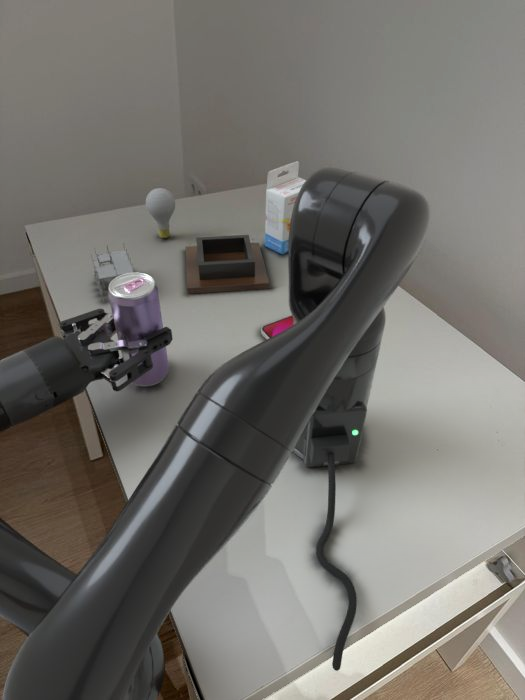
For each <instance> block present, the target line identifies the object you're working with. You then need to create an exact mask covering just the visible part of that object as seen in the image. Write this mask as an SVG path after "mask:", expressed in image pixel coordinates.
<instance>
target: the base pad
mask: <svg viewBox="0 0 525 700" xmlns="http://www.w3.org/2000/svg"><path fill="white" fill-rule="evenodd" d="M184 248H185V269H186V271H185V274H186V290H187V295H193V294H207V293H222V292H223V293H224V292H239V291H254V290H255V291H256V290H269V289H270V279H269V275H268V273H267V269H266V264H265V262H264V257H263V253H262V249H261V246H260V242H251V238H250V235H249V234H237V235H217V236H215V235H214V236H200V237H199V236H198V237H196V245H191V246H190V245H189V246H185V247H184Z"/></svg>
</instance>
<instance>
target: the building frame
mask: <svg viewBox="0 0 525 700" xmlns="http://www.w3.org/2000/svg"><path fill="white" fill-rule="evenodd" d="M122 244H123V250H117V251H113V252H111V251H109V246H108V244H106V245H105V247H106V250H107V253H102V254H97V252H96V248H95V246H94V247H93V248H94V249H93V250H94V253H95V258H96V259H95V260H94V259H93V256H92V255H93V254H90V257H91V261H92V265H93V269H94V270H93V273H94V278H95V283H96V285H97V289H98V292H99V296H101V298H102V301H103V302H105V300H104V291H103V288H102V285H103V287H104V289H106V286H105V285H106V284H105V280H109V279H114V278H116V277H118V276H120V275H123V274H126V273H133V272H135V270H134V269H135V268H134V264H133V263H132V261H131V259H130V256H129V254H128V251H127V249H126V248H125V243H124V241H123V242H122ZM105 263H109V264H105ZM101 282H102V285H101Z"/></svg>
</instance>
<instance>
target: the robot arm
mask: <svg viewBox="0 0 525 700" xmlns="http://www.w3.org/2000/svg"><path fill="white" fill-rule="evenodd" d="M305 180H306V181H305V182H304V184H303V186H302V187H301V189H300V191H299V193H298V196H297V198H296V201H295V204H294V207H293V211H292V216H291V221H290V229H289V246H288V252H287V253H288V255H287V257H288V307H289V311H290V314H291V315H292V316H293V326H291V327H289V328H287V329H286V330H284V331H282V332H280V333H279V334H277V335H275V336H273V337H271V338H269V339H265V340H263V341H261V342H259V343H257V344H255V345H253V346H251V347H250V348H247V349H245V350H244V351H242V352H240V353H239V354H237V355H235V356H234V357H231V358H230V359H228V360H227V361H225V362H223V363H222V364H221V365H219V366H218V367H217V368H216V369H215V370H213V371H212V372H211V373H210V374H208V376H207V378H205V380H204V381H203V382H202V384H201V385H200V387H199V389H198V390H197V392H195V394H194V396H193V397H192V399H191V401H190V402H189V403H188V405H187V406H186V408H185V410H184V412H183V413H182V414H181V416H180V417H179V419H178V420H177V422H176V424H175V425H174V427H173V428H172V430H171V432H170V433H169V435H168V437H167V439H166V441H165V443H163V445H162V447H161V448H160V450H159V452H158V454H157V456H156V457H155V458H154V460H153V461H152V463H151V465H150V466H149V467H148V469H147V470H146V472H145V474H144V475H143V477H142V478H141V480H140V481H139V483H138V484H137V486H136V488H135V489H134V490H133V492H132V494H131V495H130V496H129V499H128V500H127V502H126V503H125V505H123V508H122V509H121V511H120V512H119V515H118V516H117V517H116V520H115V521H114V523H113V524H112V526H111V527H110V529H109V530H108V532H107V534H106V535H105V537H104V538H103V539H102V541H101V542H100V544H99V545H98V547H97V548H96V549H95V551H94V552H93V553H92V554H91V556H90V557H89V558H88V560H87V561H86V562H85V563H84V565H83V567H82V568H81V569H80V570H79V572H78V573H75V572H73V571H72V570H70V569H69V568H67V567H66V566H65V565H63V564H61V562H59V561H57V560H56V559H54V558H53V557H51V556H50V555H49V554H47V553H46V552H44V550H42V549H40V548H39V547H38V546H36V545H35V544H34V543H32V541H30V540H29V539H27V538H26V536H23V535H22V534H21V533H19V532H18V531H17V530H16V529H14V527H12V526H11V525H10V524H9V523H8V522H6V521H5V520H4V519H3V518H2V517H0V617H1V618H2V619H4V620H5V621H6V622H8V623H10V624H11V625H13V626H14V627H15V628H16V629H18V630H19V631H21V632H22V633H23V634H24V635H26V639H25V641H24V642H23V644H22V645H21V646H20V648H19V650H18V652H17V654H16V656H15V658H14V660H13V661H12V664H11V666H10V668H9V670H8V674H7V676H6V679H5V682H4V683H5V684H4V687H3V692H2V697H1V698H2V700H157V699H158V696H159V695H160V692H161V689H162V687H163V684H164V680H165V674H166V673H165V671H166V658H165V651H164V647H163V643H162V640H161V637H160V636H159V634H158V633H159V631H160V629H161V627H162V626H163V624H164V622H165V620H166V619H167V617H168V615H169V614H170V612H171V610H172V609H173V608H174V605H175V604H176V603H177V602H178V600H179V599H180V598H181V596H182V594H183V593H184V592H185V590H186V589H187V588H188V587H189V586H190V584H192V582H193V581H194V580H195V579H196V577H197V576H199V574H200V573H201V572H202V571H203V570H204V569H205V568H206V566H207V565H209V564H210V562H211V561H212V560H213V559H214V558H215V557H216V556H217V554H219V553H220V552H221V551H222V550H223V549H224V547H226V545H227V544H228V543H229V542H230V541H231V540H232V539H233V537H235V535H236V534H237V533H238V532H239V531H240V530H241V528H242V527H243V526H244V525H245V524H246V523H247V521H249V519H250V518H251V517H252V516H253V514H254V513H255V512H256V510H257V509H258V508H259V507H260V505H261V504H262V502H263V501H264V499H265V498H266V496H267V495H268V493H269V492H270V491H271V489H272V487H273V485H274V483H275V482H276V480H277V479H278V477H279V475H280V473H281V472H282V470H283V469H284V467H285V465H286V463H287V462H288V460H289V459H290V457H291V455H292V454H294V455H296V457H298V458H300V459H301V460H302V461H303V462H304V466H305V468H315V467H316V468H317V467H325V466H327V476H328V493H327V497H328V498H327V513H326V522H325V527H324V529H323V532H322V533H321V535H320V537H319V539H318V541H317V543H316V548H315V549H316V550H315V553H316V558H317V561H318V563H319V564H320V565H321V566H322V568H323V569H325V571H327V572H328V573H329V574H331V575H332V576H333V577H335V578H336V579H337V580H339V581H340V582H341V583H342V584H344V586H345V589H346V591H347V596H348V608H347V612H346V614H345V618H344V619H343V623H342V625H341V628H340V630H339V632H338V636H337V638H336V641H335V644H334V645H335V646H334V650H333V657H332V662H331V663H332V664H331V666H332V669H333V671H337V672H338V671H340V669H341V666H342V661H343V660H342V659H343V653H344V650H345V649H344V648H345V645H346V642H347V639H348V636H349V633H350V631H351V628H352V625H353V623H354V620H355V618H356V613H357V607H358V605H357V604H358V600H357V599H358V597H357V592H356V588H355V585H354V583H353V581H352V580H351V578H350V577H349V576H348V575H347V574H345V572H344V571H342V570H340V569H339V568H337V566H335V565H334V564H332V563H331V562H330V561H329V560H328V559H327V557H326V555H325V552H324V549H325V546H326V544H327V541H328V540H329V538H330V536H331V534H332V531H333V527H334V523H335V522H334V520H335V514H336V512H335V511H336V491H337V490H336V486H337V485H336V465H346V464H352V463H353V464H355V463H356V462H357V458H358V454H359V449H360V445H361V442H362V436H363V432H364V426H365V421H366V419H367V418H366V417H367V413H368V412H367V411H368V406H369V405H368V404H369V400H370V396H371V391H372V387H373V381H374V376H375V372H376V368H377V363H378V360H379V359H378V358H379V355H380V349H381V345H382V341H383V336H384V331H385V326H386V320H387V319H386V311H385V305H386V304H387V303H388V301H389V299H390V298H391V297H392V295H393V294H394V293H395V291H397V288H398V287H399V286H400V284H401V282H402V281H403V279H404V278H405V277H406V275H407V273H409V270H410V269H411V267H412V265H413V264H414V263H415V260H416V258H417V257H418V255H419V253H420V251H421V249H422V247H423V244H424V242H425V239H426V236H427V234H428V231H429V227H430V221H431V206H430V203H429V201H428V199H427V198H426V196H425V195H424V194H423V193H421V192H419V191H418V190H416V189H414V188H411V187H409V186H406V185H403V184H401V183H398V182H394V181H390V180H386V179H384V178H380V177H376V176H373V175H371V174H370V175H369V174H366V173H364V172H363V173H362V172H359V171H357V170H353V169H350V168H346V167H342V166H338V165H325V166H322V167H319V168H317V169H316V170H314V171H313V172H312V173H311V174H310V175H309V176H308V177H307V178H306V179H305ZM95 319H96V320H95ZM92 320H95V321H94V322H93V323H91V324H90V323H89V322H90V321H92ZM58 326H59V328H60V332H61V334H62V337H60V336H57V335H56V336H55V335H54V336H52V337H49V338H47V339H45V340H43V341H41V342H38V343H36V344H34V345H31V346H29V347H26V348H25V349H23V350H20V351H18V352H15V353H13V354H11V355H8V356H7V357H4V358H3V359H1V360H0V434H1V433H3V432H6V430H8V429H10V428H11V427H15V426H17V425H19V424H23V423H24V422H27V421H30V420H32V419H34V418H36V417H38V416H40V415H42V414H44V413H46V412H48V411H51V409H54V408H56V407H58V406H59V405H61V404H63V403H65V402H67V401H69V400H71V399H72V398H75V397H77V396H79V395H80V394H83V393H84V392H85V391H86V390H87V387H88V386H89V384H91V383H92V382H96V381H102V380H105V381H107V382H108V383H109V384H110V385H111V388H112V390H113V391H114V392H120V391H122V390H123V389H125V388H126V387H128V386H129V385H131V384H133V383H132V382H133V381H135V380H136V379H138V378H139V377H140V376H142V375H143V374H145V373H146V372H148V371H149V370H151V369H152V368H153V362H152V357H151V354H152V353H154V352H156V351H158V350H160V349H162V348H164V347H166V348H167V346H169V345H171V343H172V341H173V332H172V329H171V328H170V327H169V326H163V328H162V329H160V330H158V331H156V332H154V333H152V334H150V335H148V336H146V337H144V340H137V341H132V342H127V341H126V340H119V341H118V340H113V339H112V338H113V336H114V335H115V334H117V332H116V328H115V323H114V319H113V314H112V312H106V311H105V309H104V308H97V309H94V310H90V311H88V312H85V313H82V314H79V315H76V316H73V317H70V318H67V319H64V320H61V321H60V322H59V323H58ZM133 350H138V351H139V353H133V354H130V353H129V351H133ZM119 351H120V352H121V351H122V353H123V357H122V356H121V358H120V352H119ZM141 362H142V364H141V365H139V364H140V363H141ZM138 365H139V366H138Z"/></svg>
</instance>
